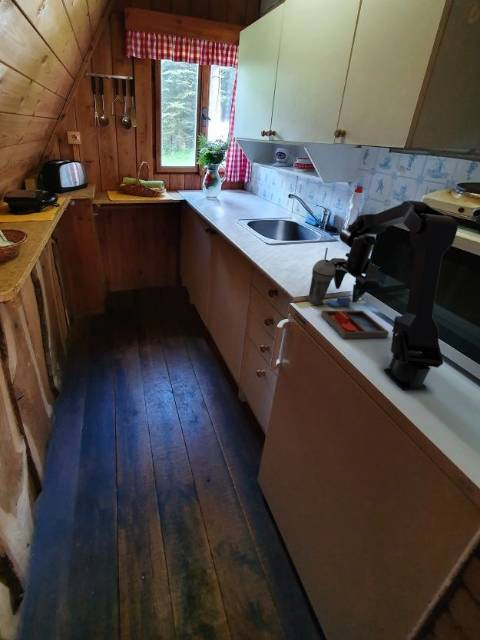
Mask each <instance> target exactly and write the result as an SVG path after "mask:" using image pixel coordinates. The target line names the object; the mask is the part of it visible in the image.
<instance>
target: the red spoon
mask: <svg viewBox="0 0 480 640" xmlns="http://www.w3.org/2000/svg"><path fill="white" fill-rule="evenodd" d="M336 311H337V313H336V316H335V319H336V320H337V321H338V322H339V323H340V324H341V325H342V326H341V327H342V328H343V329H344V330H345V331H346V332H352V331H355V330H356V328H355V326H353V325H352V324H349V323H348V321H349V318H348V317H347V316H346V315H345V314H344V313H343V312H342V311H343V310H336Z"/></svg>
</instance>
